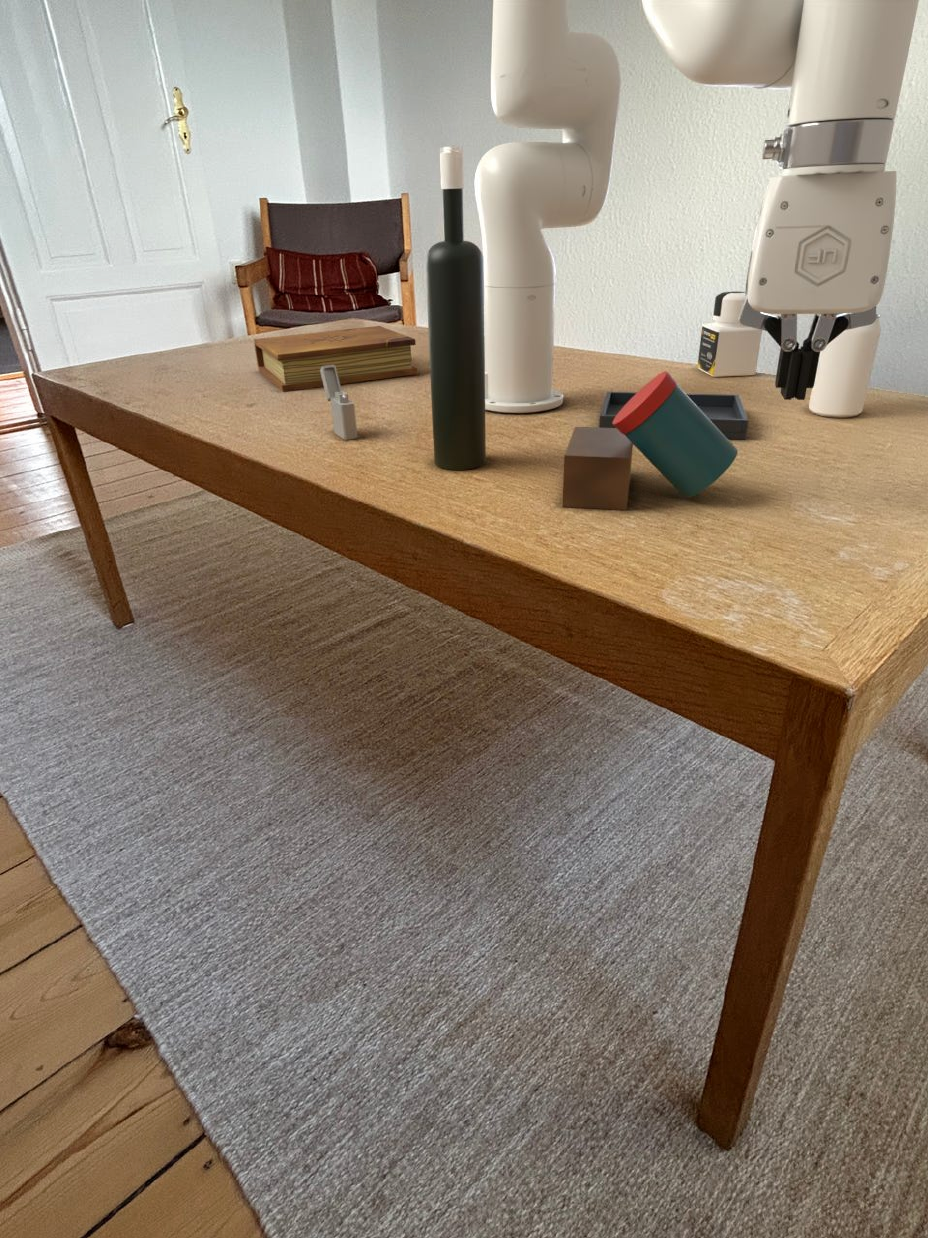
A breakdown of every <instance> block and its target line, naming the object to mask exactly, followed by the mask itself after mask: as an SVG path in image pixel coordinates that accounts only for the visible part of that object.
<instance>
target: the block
mask: <svg viewBox="0 0 928 1238" xmlns="http://www.w3.org/2000/svg"><path fill="white" fill-rule="evenodd" d="M633 450H634V444H633V443H632V442H631V441H630V440H629V439H628V438H627V437H626V436H625V435H624V434H622V433H621V432H620V431H619V430H618V429H617V428H599V427H592V426H591V427H590V426H574V429H573V430H572V434H571V436H570V439H569V442H568V445H567V447H566V450H565V453H564V456H563V475H562V476H563V477H562V478H563V480H562V500H561V501H562V502H561V503H562V504H561V505H562V507H563V508H577V509H578V508H581V509H595V510H596V509H597V510H616V511H627V508H628V502H629V501H628V500H629V492H630V483H631V475H632V463H633V452H634V451H633Z"/></svg>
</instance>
